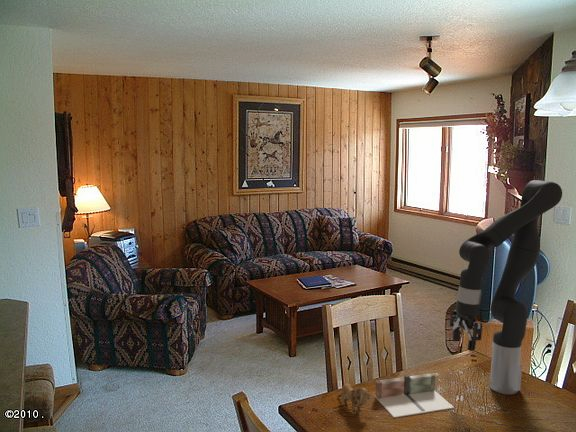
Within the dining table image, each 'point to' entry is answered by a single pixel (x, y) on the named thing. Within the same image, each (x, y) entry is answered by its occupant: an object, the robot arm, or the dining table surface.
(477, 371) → the dining table surface
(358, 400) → the lion figurine
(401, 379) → the fence panel
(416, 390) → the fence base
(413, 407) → the card
